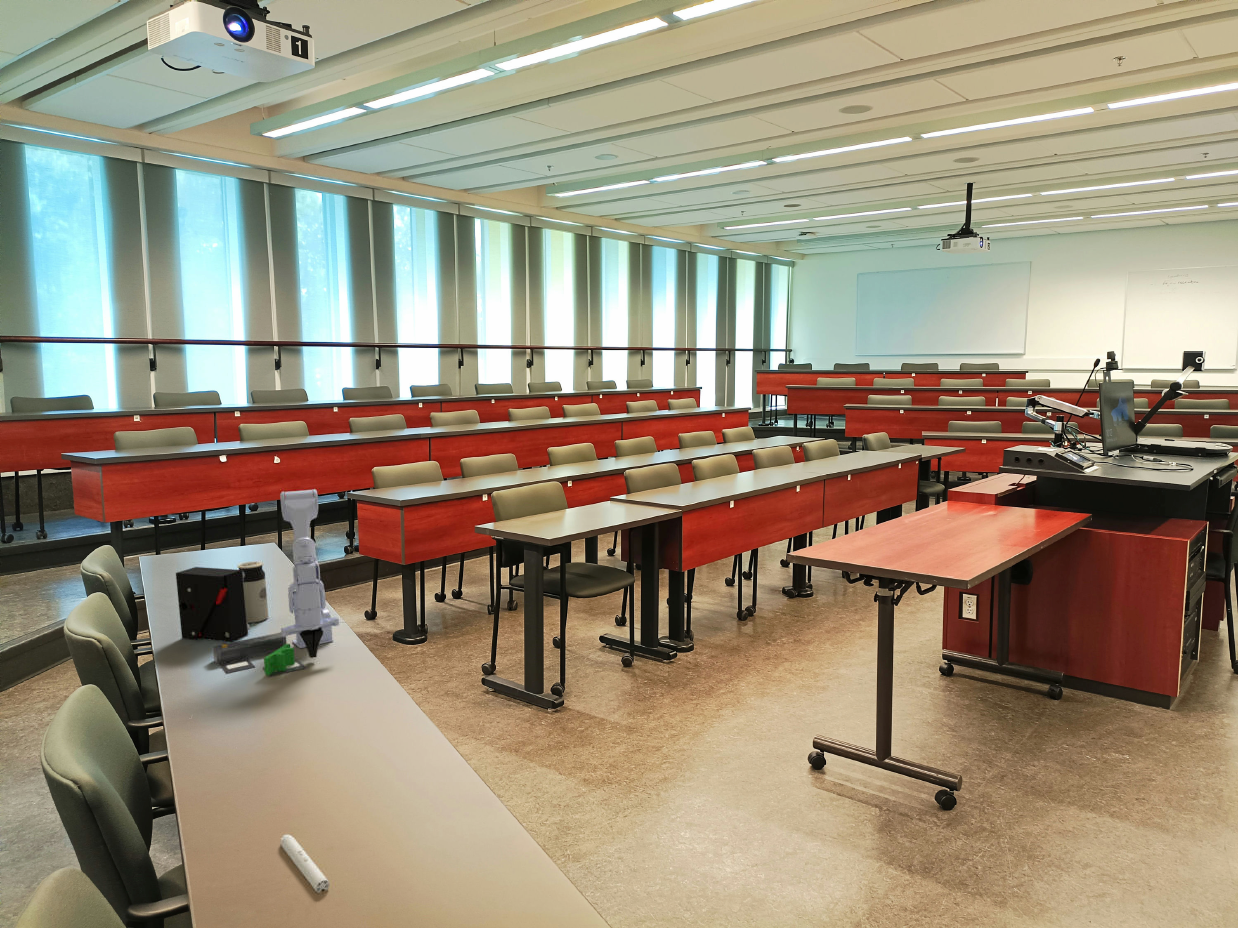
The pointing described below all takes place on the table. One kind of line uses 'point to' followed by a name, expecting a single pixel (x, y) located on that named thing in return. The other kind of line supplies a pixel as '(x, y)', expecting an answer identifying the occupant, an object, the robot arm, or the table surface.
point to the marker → (304, 863)
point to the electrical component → (212, 604)
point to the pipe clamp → (279, 659)
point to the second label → (290, 668)
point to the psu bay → (248, 648)
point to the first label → (237, 666)
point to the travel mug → (254, 592)
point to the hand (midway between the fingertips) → (312, 656)
